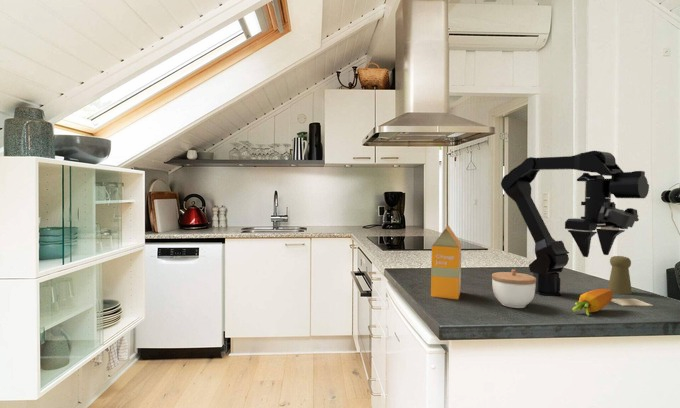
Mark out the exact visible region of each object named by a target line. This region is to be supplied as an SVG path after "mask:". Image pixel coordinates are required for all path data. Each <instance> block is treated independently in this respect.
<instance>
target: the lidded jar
mask: <svg viewBox="0 0 680 408" xmlns="http://www.w3.org/2000/svg"><path fill="white" fill-rule="evenodd" d="M491 278H492V279H491V282H492V284H491V285H492V292H493V295H494V297H495V298H496V299H497V301H498V302H499V303H500V305H502V306H503V307H507V308H512V309H525V308H526V307H527V305H528V304H530V303H531V302H532V300H533V299H534V297H535V293H536V292H535V287H536V278H535V277H534V276H533V275H530V274H526V273H523V272H522V273H521V272H517V270H516V269H511V271H506V272H505V271H498V272H496V271H495V272H493V273H492V274H491Z"/></svg>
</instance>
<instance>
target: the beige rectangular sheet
mask: <svg viewBox="0 0 680 408" xmlns="http://www.w3.org/2000/svg"><path fill="white" fill-rule="evenodd" d="M610 302H611V303H615V304H618V305H619V306H622V307H653V306H654V305H653V304H651V303H648V302H645V301H643V300H639V299H637V298H612V300H611V301H610Z"/></svg>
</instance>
